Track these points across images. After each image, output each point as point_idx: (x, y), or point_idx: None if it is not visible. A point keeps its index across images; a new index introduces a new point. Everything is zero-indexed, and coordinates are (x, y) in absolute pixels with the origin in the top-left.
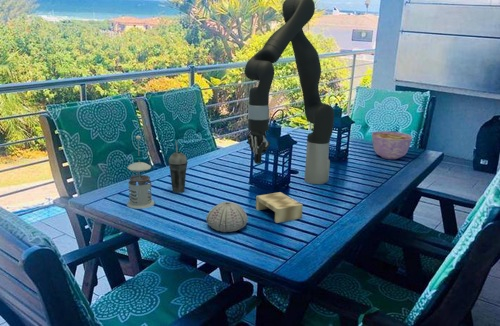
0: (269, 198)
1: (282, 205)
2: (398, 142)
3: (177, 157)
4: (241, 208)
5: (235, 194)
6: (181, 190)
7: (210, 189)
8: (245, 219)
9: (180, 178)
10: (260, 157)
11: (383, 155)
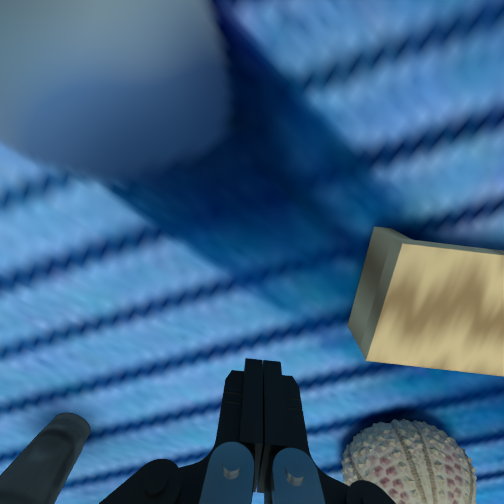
0: (428, 336)
1: None
2: None
3: None
4: (456, 487)
5: (180, 302)
6: (84, 434)
7: (90, 345)
8: (470, 463)
9: (59, 489)
10: (302, 431)
11: None
